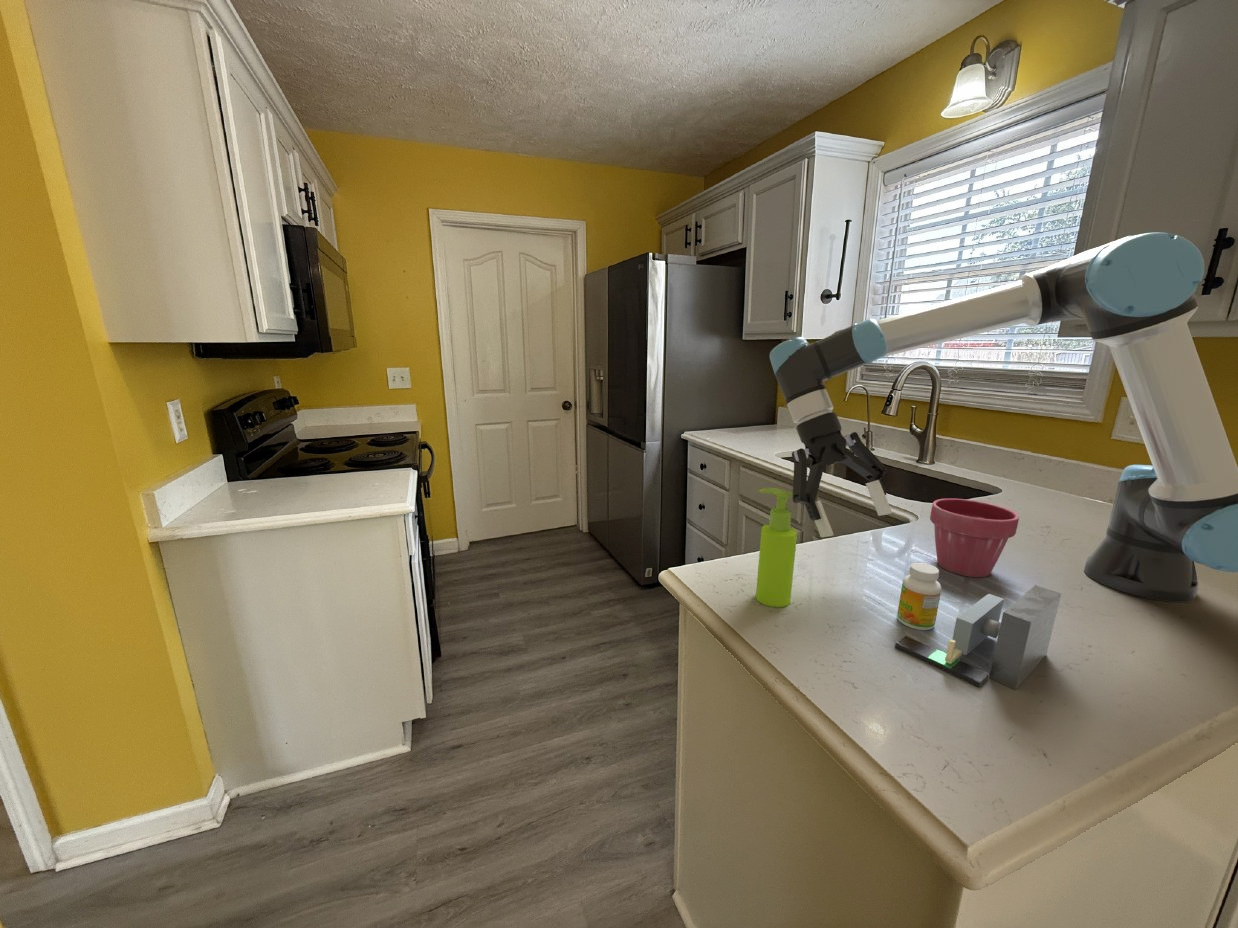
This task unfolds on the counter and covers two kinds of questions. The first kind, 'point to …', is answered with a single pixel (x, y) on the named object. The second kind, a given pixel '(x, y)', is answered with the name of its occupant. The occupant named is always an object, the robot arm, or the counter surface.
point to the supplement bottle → (919, 597)
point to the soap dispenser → (776, 554)
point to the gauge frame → (1004, 642)
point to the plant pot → (971, 535)
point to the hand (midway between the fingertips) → (857, 525)
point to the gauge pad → (975, 626)
